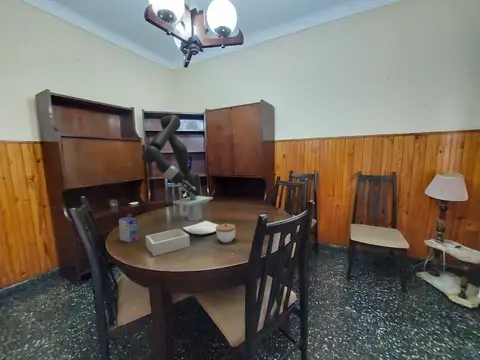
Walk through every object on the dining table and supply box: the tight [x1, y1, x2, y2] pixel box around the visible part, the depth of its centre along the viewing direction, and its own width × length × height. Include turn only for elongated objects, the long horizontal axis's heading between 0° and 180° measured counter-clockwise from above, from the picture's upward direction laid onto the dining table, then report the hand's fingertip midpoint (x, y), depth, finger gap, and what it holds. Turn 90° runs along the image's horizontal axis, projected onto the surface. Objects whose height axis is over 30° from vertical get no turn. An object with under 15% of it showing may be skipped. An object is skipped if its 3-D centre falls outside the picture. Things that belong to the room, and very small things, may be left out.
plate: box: [182, 220, 219, 237], centre depth 142 cm, size 20×20×3 cm
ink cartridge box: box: [118, 213, 139, 243], centre depth 128 cm, size 10×6×14 cm, turn 58°
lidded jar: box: [215, 223, 237, 243], centre depth 124 cm, size 11×11×9 cm
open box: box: [144, 228, 191, 257], centre depth 118 cm, size 18×14×6 cm
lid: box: [172, 187, 214, 207], centre depth 131 cm, size 18×14×9 cm
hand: (197, 194), depth 132 cm, fingers closed on lid, 3 cm apart
